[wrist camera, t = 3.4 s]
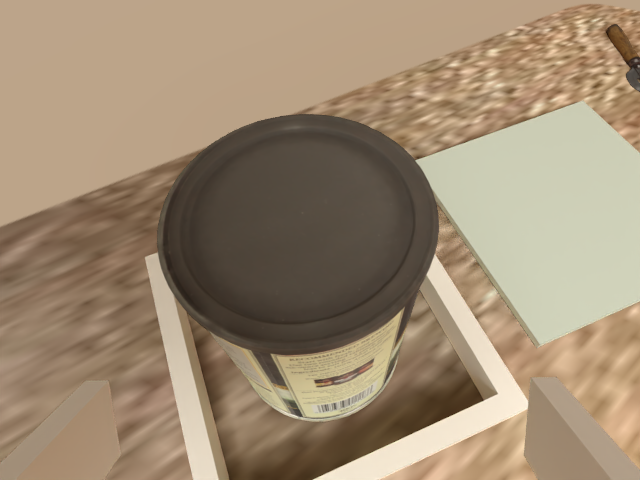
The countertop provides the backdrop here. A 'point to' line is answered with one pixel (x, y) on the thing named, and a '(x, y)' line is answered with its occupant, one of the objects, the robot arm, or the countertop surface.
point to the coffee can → (302, 256)
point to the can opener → (626, 54)
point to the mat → (548, 216)
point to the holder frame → (368, 470)
